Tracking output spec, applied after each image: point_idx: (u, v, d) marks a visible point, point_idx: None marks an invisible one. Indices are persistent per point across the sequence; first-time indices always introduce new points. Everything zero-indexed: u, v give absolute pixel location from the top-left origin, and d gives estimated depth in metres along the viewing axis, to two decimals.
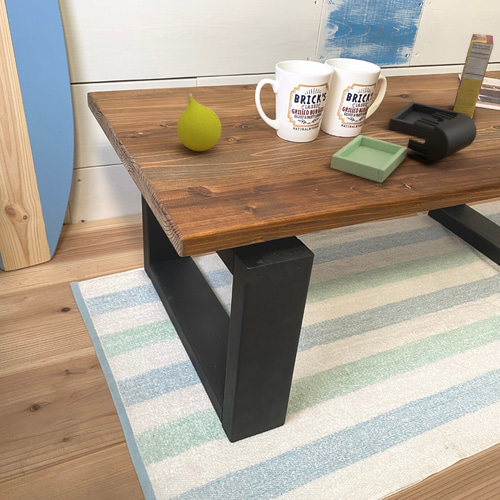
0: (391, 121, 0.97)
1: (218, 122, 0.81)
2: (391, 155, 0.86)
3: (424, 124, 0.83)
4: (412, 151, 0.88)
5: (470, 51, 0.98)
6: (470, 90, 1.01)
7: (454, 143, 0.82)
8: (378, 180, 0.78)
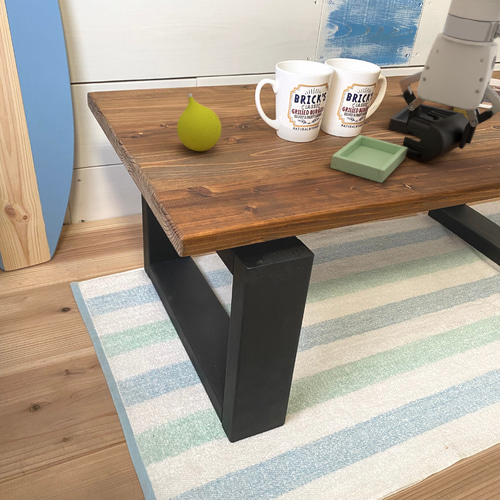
0: (391, 121, 0.97)
1: (218, 122, 0.81)
2: (391, 155, 0.86)
3: (420, 122, 0.84)
4: (407, 149, 0.88)
5: None
6: None
7: (449, 142, 0.82)
8: (378, 180, 0.78)
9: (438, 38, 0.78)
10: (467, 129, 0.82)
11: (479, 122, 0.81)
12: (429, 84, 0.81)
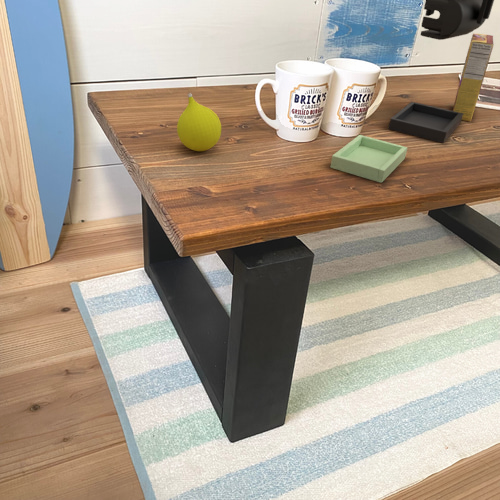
0: (391, 121, 0.97)
1: (218, 122, 0.81)
2: (391, 155, 0.86)
3: None
4: (426, 31, 0.90)
5: (470, 51, 0.98)
6: (470, 90, 1.01)
7: (467, 15, 0.85)
8: (378, 180, 0.78)
9: None
10: (485, 2, 0.84)
11: None
12: None
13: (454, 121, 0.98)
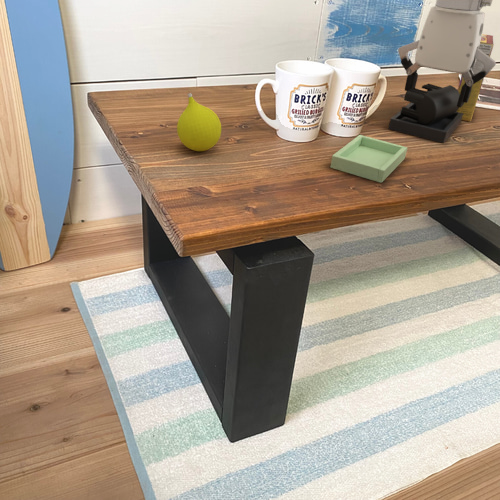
0: (391, 121, 0.97)
1: (218, 122, 0.81)
2: (391, 155, 0.86)
3: (415, 93, 0.95)
4: (405, 118, 1.00)
5: None
6: None
7: (441, 109, 0.94)
8: (378, 180, 0.78)
9: (431, 10, 0.89)
10: (464, 89, 0.92)
11: (474, 81, 0.91)
12: (426, 51, 0.92)
13: (454, 121, 0.98)
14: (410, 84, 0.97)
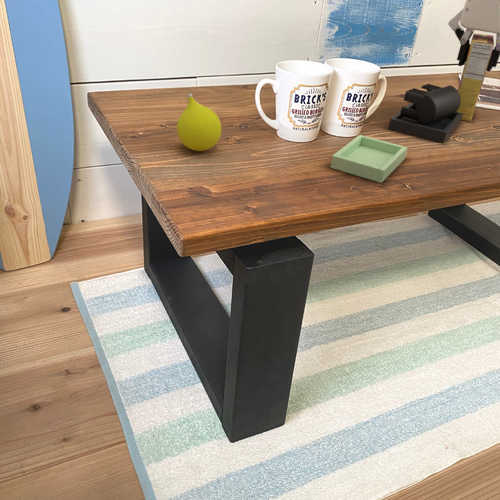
0: (391, 121, 0.97)
1: (218, 122, 0.81)
2: (391, 155, 0.86)
3: (415, 93, 0.95)
4: (404, 118, 1.00)
5: (471, 51, 0.98)
6: (470, 90, 1.01)
7: (441, 109, 0.94)
8: (378, 180, 0.78)
9: None
10: (493, 53, 0.99)
11: None
12: (471, 13, 0.97)
13: (454, 121, 0.98)
14: (463, 53, 1.02)
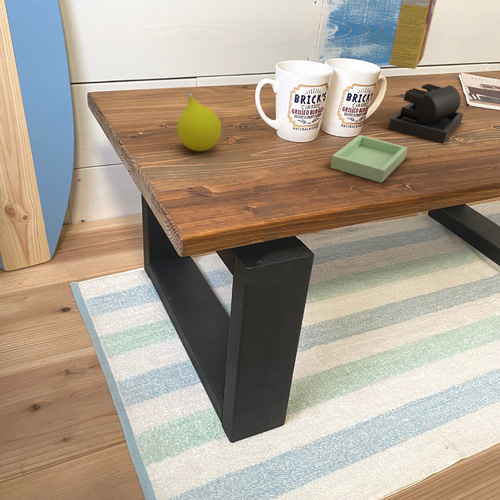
0: (391, 121, 0.97)
1: (218, 122, 0.81)
2: (391, 155, 0.86)
3: (415, 93, 0.95)
4: (404, 118, 1.00)
5: None
6: (413, 22, 0.72)
7: (441, 109, 0.94)
8: (378, 180, 0.78)
9: None
10: None
11: None
12: None
13: (454, 121, 0.98)
14: None
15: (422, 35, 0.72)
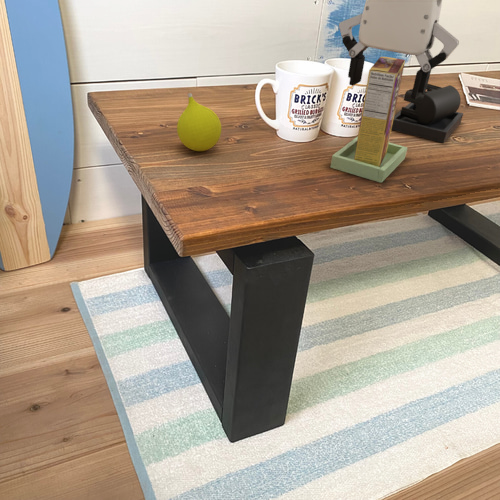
0: None
1: (218, 122, 0.81)
2: (391, 155, 0.86)
3: None
4: (404, 118, 1.00)
5: (368, 82, 0.73)
6: (373, 132, 0.77)
7: (441, 109, 0.94)
8: (378, 180, 0.78)
9: None
10: (419, 75, 0.72)
11: (432, 66, 0.71)
12: (371, 27, 0.72)
13: (454, 121, 0.98)
14: (354, 69, 0.77)
15: (382, 143, 0.77)
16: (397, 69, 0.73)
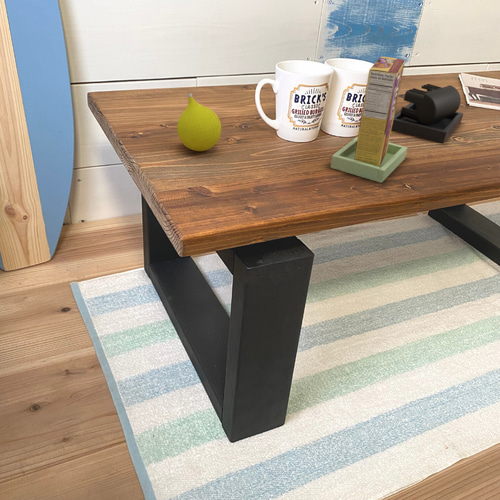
0: None
1: (218, 122, 0.81)
2: (391, 155, 0.86)
3: (415, 93, 0.95)
4: (404, 118, 1.00)
5: (368, 82, 0.73)
6: (373, 132, 0.77)
7: (441, 109, 0.94)
8: (378, 180, 0.78)
9: None
10: None
11: None
12: None
13: (454, 121, 0.98)
14: None
15: (382, 143, 0.77)
16: (397, 69, 0.73)
